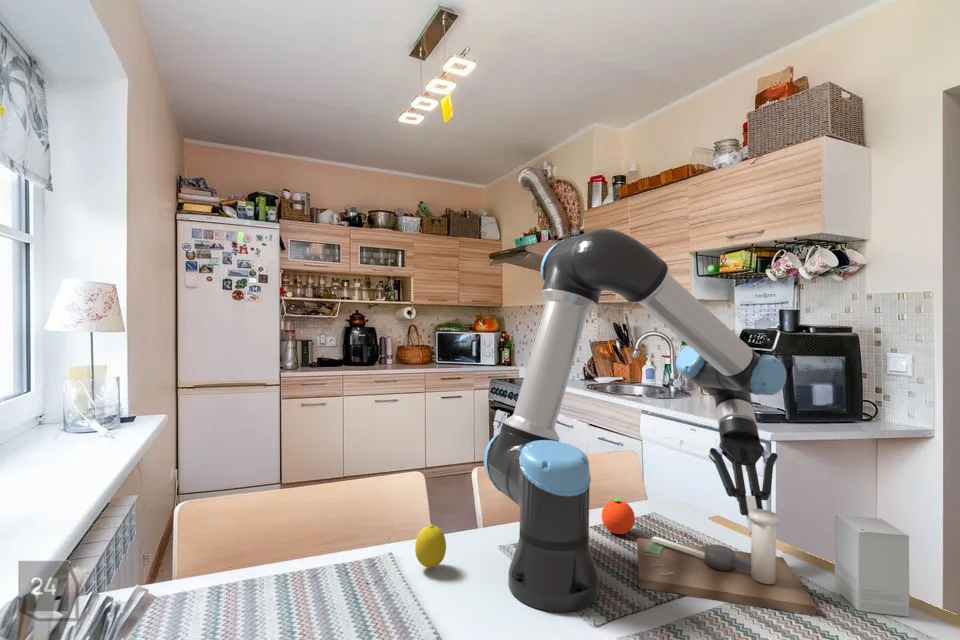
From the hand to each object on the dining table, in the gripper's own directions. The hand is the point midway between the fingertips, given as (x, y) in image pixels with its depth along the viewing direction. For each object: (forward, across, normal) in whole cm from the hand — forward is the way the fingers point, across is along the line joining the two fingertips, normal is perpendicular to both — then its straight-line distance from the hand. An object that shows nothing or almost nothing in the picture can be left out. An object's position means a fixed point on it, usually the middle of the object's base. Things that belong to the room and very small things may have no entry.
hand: (754, 531), depth 91 cm
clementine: (0, +25, -10) cm, 27 cm away
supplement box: (+10, -15, 0) cm, 18 cm away
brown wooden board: (+9, +8, 0) cm, 12 cm away
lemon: (+19, +57, +10) cm, 61 cm away
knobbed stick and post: (+7, +8, 0) cm, 11 cm away
